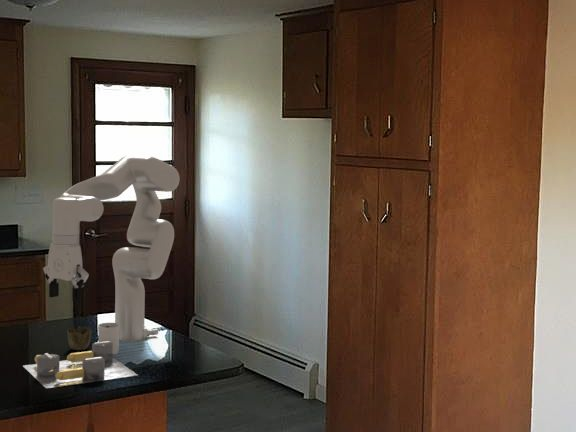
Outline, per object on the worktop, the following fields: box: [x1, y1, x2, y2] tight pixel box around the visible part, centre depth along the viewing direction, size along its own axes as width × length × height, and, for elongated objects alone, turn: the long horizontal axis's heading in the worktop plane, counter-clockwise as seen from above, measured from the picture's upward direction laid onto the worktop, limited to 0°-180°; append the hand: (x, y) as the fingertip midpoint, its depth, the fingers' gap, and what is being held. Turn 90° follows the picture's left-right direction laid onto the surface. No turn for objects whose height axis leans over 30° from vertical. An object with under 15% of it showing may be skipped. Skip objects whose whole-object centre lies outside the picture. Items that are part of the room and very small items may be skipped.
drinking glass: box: [97, 322, 120, 355], centre depth 253 cm, size 7×7×10 cm
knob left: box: [55, 357, 105, 382], centre depth 225 cm, size 14×6×6 cm, turn 123°
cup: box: [66, 325, 92, 352], centre depth 255 cm, size 8×7×8 cm
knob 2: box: [66, 341, 114, 363], centre depth 242 cm, size 14×6×6 cm, turn 123°
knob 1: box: [34, 352, 60, 378], centre depth 232 cm, size 14×6×6 cm, turn 33°
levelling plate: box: [22, 357, 138, 389], centre depth 234 cm, size 26×23×2 cm
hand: (65, 298), depth 240 cm, fingers open, 8 cm apart
